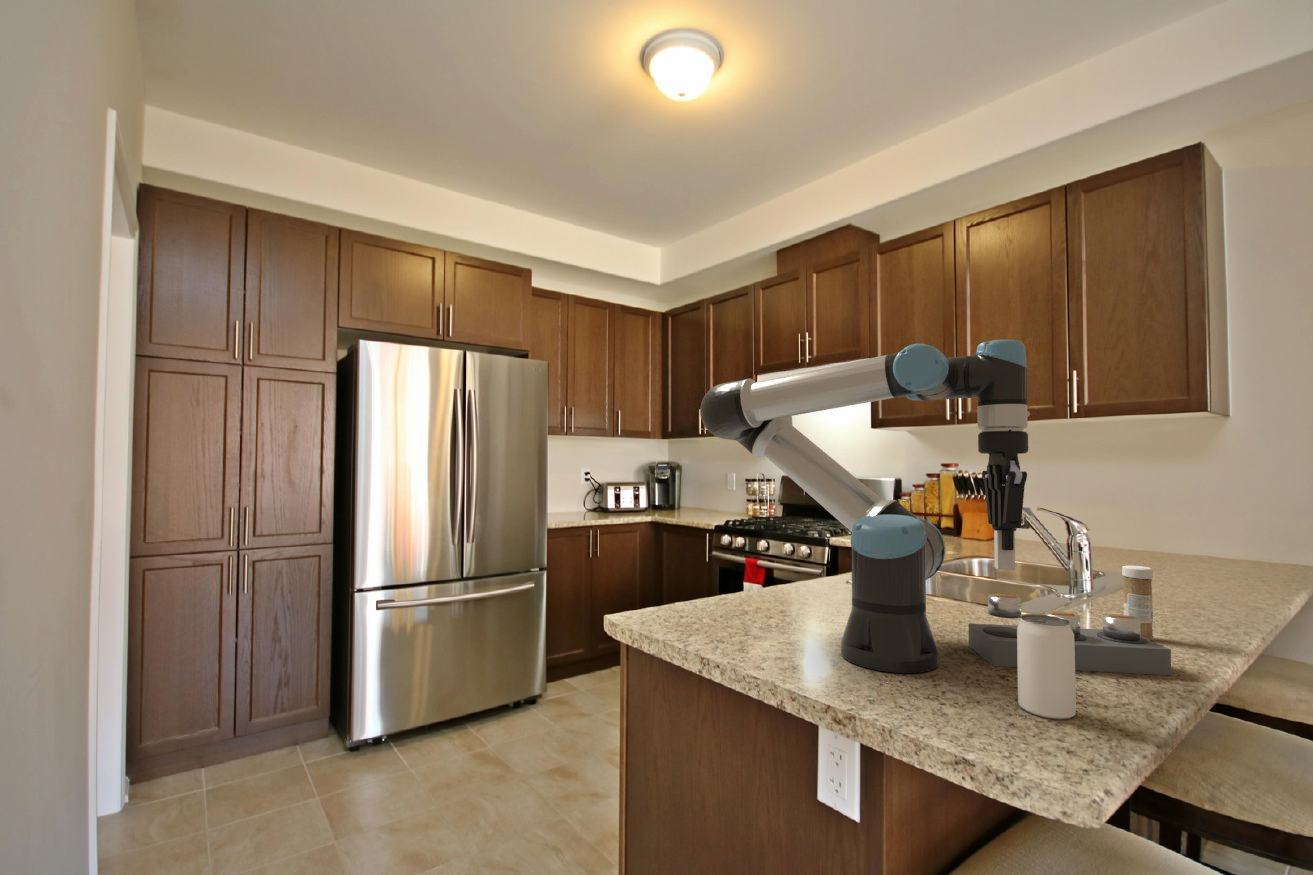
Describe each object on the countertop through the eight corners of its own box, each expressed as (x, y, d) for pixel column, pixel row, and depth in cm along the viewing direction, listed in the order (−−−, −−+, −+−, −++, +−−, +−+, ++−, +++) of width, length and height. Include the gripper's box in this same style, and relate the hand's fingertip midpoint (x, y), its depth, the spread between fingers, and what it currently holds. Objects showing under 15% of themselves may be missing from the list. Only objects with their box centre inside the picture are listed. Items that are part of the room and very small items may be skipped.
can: (1077, 724, 77) (1075, 627, 78) (1017, 713, 81) (1015, 620, 81) (1074, 707, 83) (1073, 617, 83) (1018, 697, 86) (1017, 610, 87)
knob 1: (994, 617, 103) (994, 597, 103) (983, 610, 108) (983, 591, 108) (1026, 619, 102) (1026, 598, 102) (1014, 611, 107) (1013, 592, 107)
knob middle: (1053, 636, 102) (1053, 615, 102) (1039, 628, 107) (1039, 608, 107) (1086, 637, 101) (1086, 617, 101) (1070, 629, 106) (1070, 610, 106)
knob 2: (1113, 639, 100) (1113, 618, 100) (1096, 630, 105) (1096, 611, 105) (1147, 640, 99) (1147, 620, 100) (1128, 632, 104) (1128, 612, 105)
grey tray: (992, 665, 100) (992, 639, 100) (968, 645, 111) (968, 622, 111) (1171, 675, 96) (1170, 648, 96) (1128, 653, 107) (1128, 629, 107)
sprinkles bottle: (1127, 633, 120) (1125, 563, 121) (1156, 638, 117) (1155, 567, 117) (1120, 637, 117) (1118, 566, 118) (1150, 642, 114) (1148, 569, 114)
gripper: (1043, 428, 99) (1046, 576, 98) (1010, 432, 112) (1012, 563, 111) (993, 428, 101) (996, 574, 100) (966, 432, 113) (968, 562, 112)
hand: (1004, 568), depth 105 cm, fingers closed
